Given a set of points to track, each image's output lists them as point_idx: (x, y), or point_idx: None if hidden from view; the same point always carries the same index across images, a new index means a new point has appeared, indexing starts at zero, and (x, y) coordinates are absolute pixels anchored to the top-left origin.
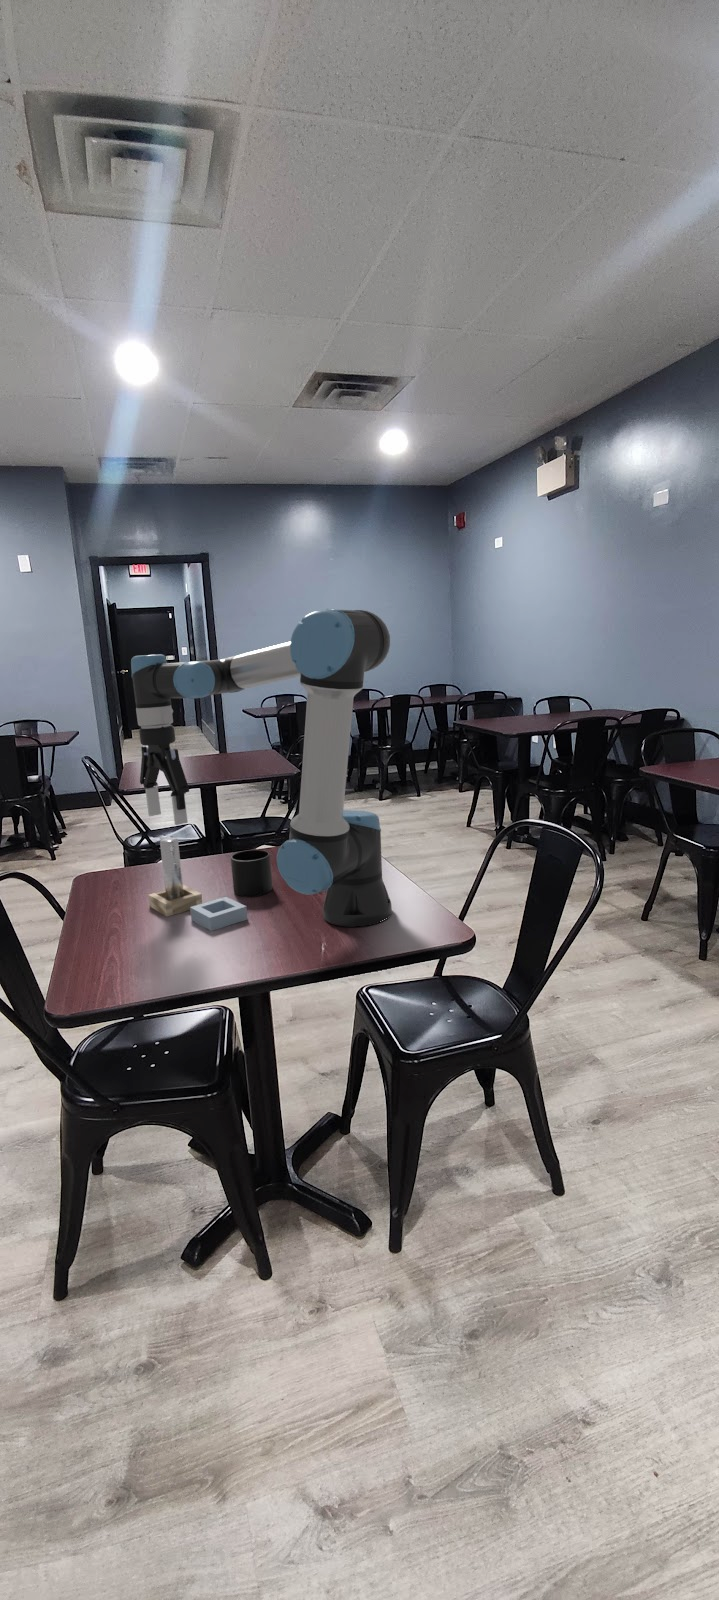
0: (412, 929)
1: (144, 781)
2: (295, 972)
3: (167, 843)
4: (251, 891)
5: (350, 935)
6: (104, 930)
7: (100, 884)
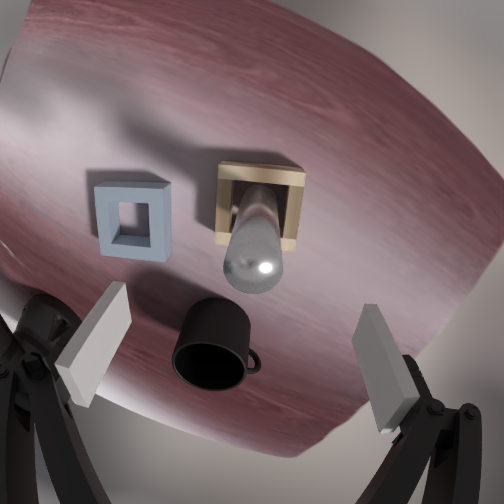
0: (13, 321)
1: (437, 428)
2: None
3: (229, 250)
4: (189, 311)
5: (18, 284)
6: (256, 49)
7: (480, 187)
